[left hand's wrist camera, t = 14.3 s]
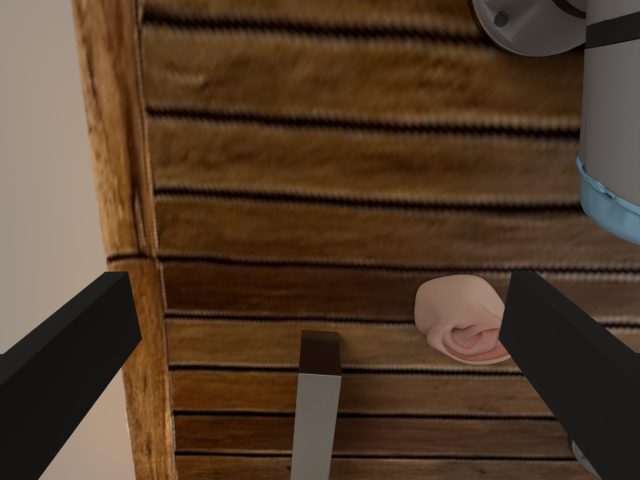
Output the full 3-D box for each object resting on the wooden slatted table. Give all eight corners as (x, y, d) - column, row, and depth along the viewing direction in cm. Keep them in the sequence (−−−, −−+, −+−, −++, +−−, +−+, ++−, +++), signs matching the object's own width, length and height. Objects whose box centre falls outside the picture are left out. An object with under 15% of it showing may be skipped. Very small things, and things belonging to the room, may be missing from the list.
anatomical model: (406, 309, 43) (501, 269, 41) (399, 292, 47) (486, 255, 45) (445, 387, 47) (532, 354, 45) (436, 366, 51) (516, 335, 49)
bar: (302, 329, 49) (298, 373, 41) (338, 332, 49) (341, 376, 41) (292, 447, 57) (288, 502, 49) (324, 449, 57) (325, 505, 49)
